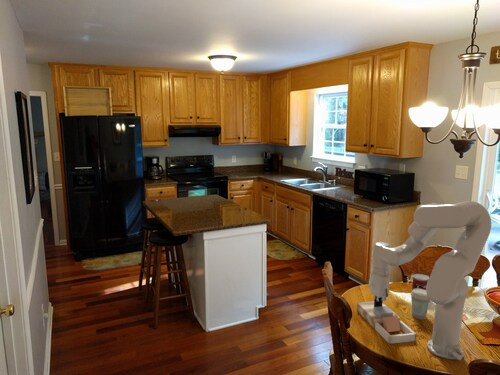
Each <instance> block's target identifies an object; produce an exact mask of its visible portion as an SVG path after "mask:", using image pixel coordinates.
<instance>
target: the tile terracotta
mask: <svg viewBox="0 0 500 375" xmlns="http://www.w3.org/2000/svg"><path fill="white" fill-rule="evenodd" d="M398 316H399V315H398ZM398 316H390V317H382V321H383V326H384V329H385V330H386V331H387V332H388V333H391V332H400V331H402V330H401V329H400V325H399V321H398Z"/></svg>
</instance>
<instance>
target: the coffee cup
mask: <svg viewBox="0 0 500 375" xmlns="http://www.w3.org/2000/svg"><path fill="white" fill-rule="evenodd" d="M410 296H411V315H412V317H413V318H415V319H418V320H425V319H426V318H427V314H428V310H429V306H430V301H431V300H430V299H429V298H428V296H427V293H426V290H424V289H413V290H412V289H411V293H410Z"/></svg>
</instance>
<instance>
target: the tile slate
mask: <svg viewBox="0 0 500 375" xmlns="http://www.w3.org/2000/svg"><path fill="white" fill-rule="evenodd" d="M386 306H387V305H386ZM386 306H381V307H374V309H373V312H374V313H375V314H376V315H377V316H378V317H379V318H380V319H382V317H390V316H393V312H394V311H393V310H392V309H391V308H390V309H391V310H392V311H393V312H392V311H391V310H390V309H389V307H388V306H387V307H386Z"/></svg>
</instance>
